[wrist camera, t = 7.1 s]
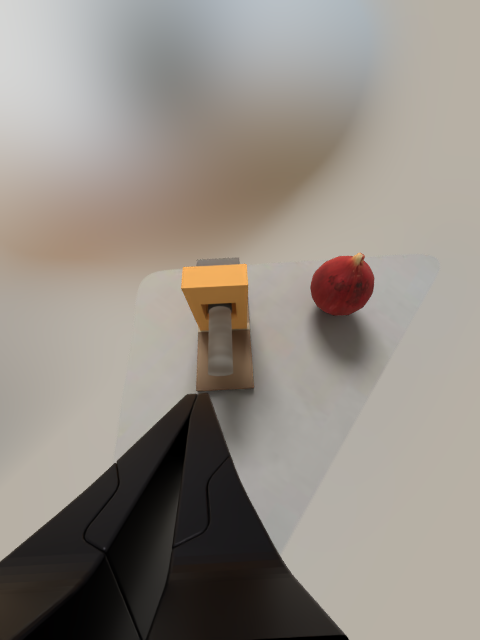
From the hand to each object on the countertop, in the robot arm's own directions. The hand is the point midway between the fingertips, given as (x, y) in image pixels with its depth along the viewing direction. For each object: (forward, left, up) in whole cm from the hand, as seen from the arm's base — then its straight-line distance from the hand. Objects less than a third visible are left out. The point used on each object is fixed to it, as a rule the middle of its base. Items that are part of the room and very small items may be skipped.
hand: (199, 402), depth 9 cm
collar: (+2, +9, -13) cm, 16 cm away
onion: (+14, +9, -14) cm, 22 cm away
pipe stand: (+1, +8, -14) cm, 16 cm away
